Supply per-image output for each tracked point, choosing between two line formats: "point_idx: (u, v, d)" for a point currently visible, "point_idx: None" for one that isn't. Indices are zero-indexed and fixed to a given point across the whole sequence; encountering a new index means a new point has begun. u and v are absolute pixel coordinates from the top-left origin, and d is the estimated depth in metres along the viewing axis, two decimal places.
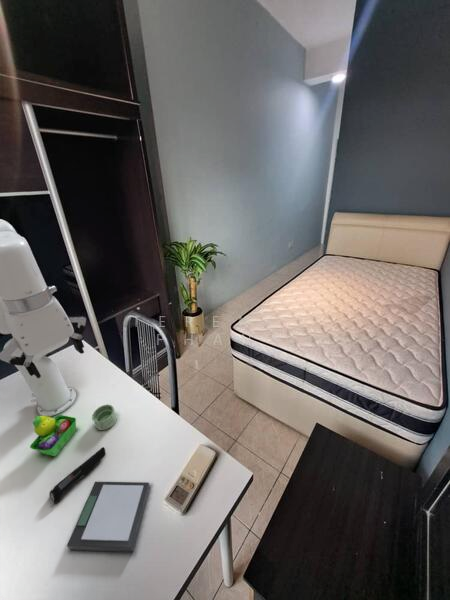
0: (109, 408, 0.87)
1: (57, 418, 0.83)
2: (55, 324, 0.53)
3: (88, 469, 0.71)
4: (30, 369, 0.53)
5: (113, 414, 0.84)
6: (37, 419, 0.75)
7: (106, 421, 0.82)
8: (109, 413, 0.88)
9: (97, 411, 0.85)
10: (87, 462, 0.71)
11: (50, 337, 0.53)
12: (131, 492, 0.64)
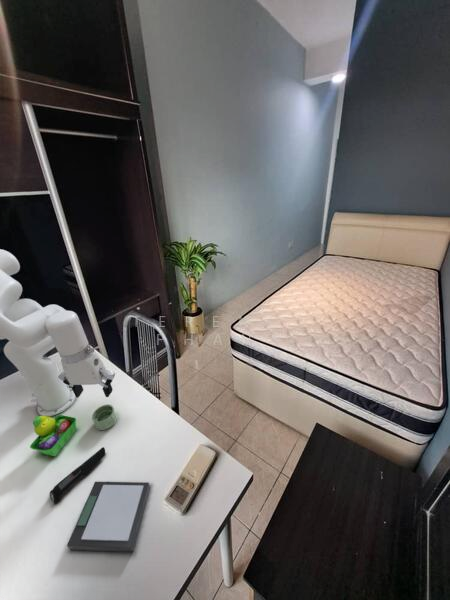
0: (109, 408, 0.87)
1: (57, 418, 0.83)
2: (85, 374, 0.71)
3: (88, 469, 0.71)
4: None
5: (113, 414, 0.84)
6: (37, 419, 0.75)
7: (106, 421, 0.82)
8: (109, 413, 0.88)
9: (97, 411, 0.85)
10: (87, 462, 0.71)
11: (82, 380, 0.72)
12: (131, 492, 0.64)
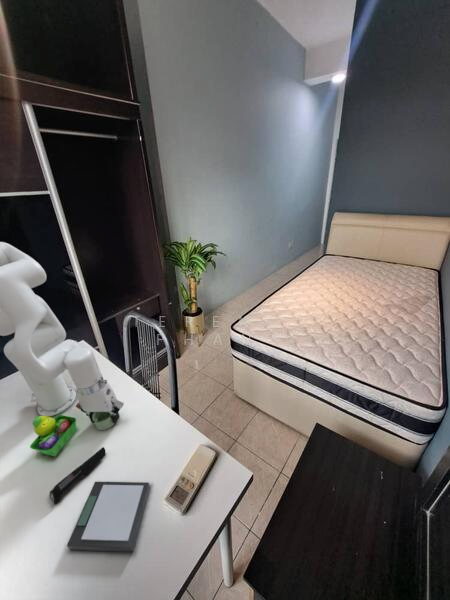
0: None
1: (57, 418, 0.83)
2: (98, 403, 0.78)
3: (88, 469, 0.71)
4: None
5: None
6: (37, 419, 0.75)
7: (106, 421, 0.82)
8: (109, 413, 0.88)
9: None
10: (87, 462, 0.71)
11: (95, 408, 0.79)
12: (131, 492, 0.64)
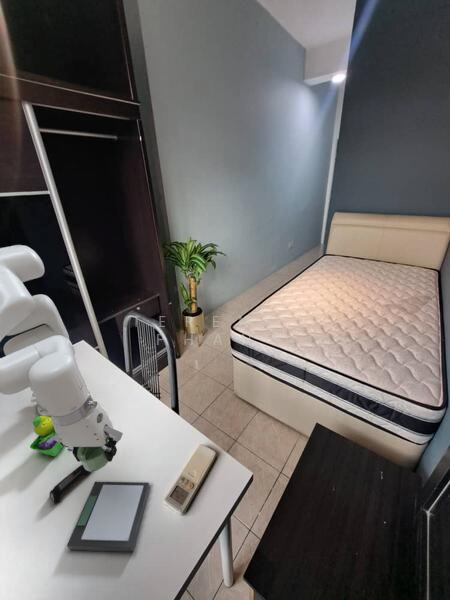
0: None
1: None
2: (84, 435, 0.52)
3: None
4: None
5: None
6: (37, 419, 0.75)
7: (97, 459, 0.56)
8: None
9: None
10: None
11: (80, 442, 0.54)
12: (131, 492, 0.64)
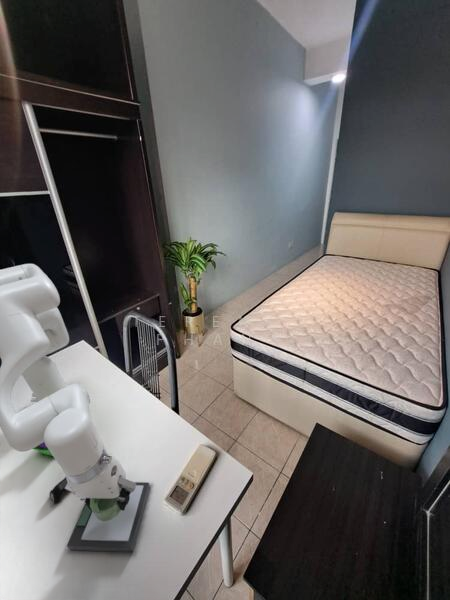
0: None
1: None
2: (98, 490, 0.51)
3: None
4: None
5: None
6: None
7: (111, 510, 0.55)
8: None
9: None
10: None
11: (94, 495, 0.53)
12: None
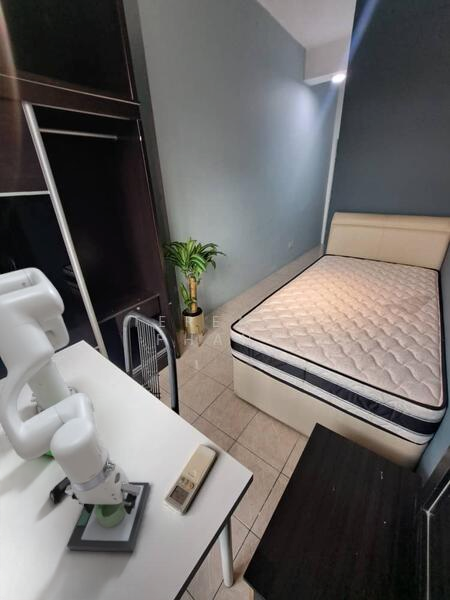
0: None
1: None
2: (102, 496, 0.53)
3: None
4: None
5: None
6: None
7: (114, 516, 0.57)
8: None
9: None
10: None
11: (97, 501, 0.54)
12: None
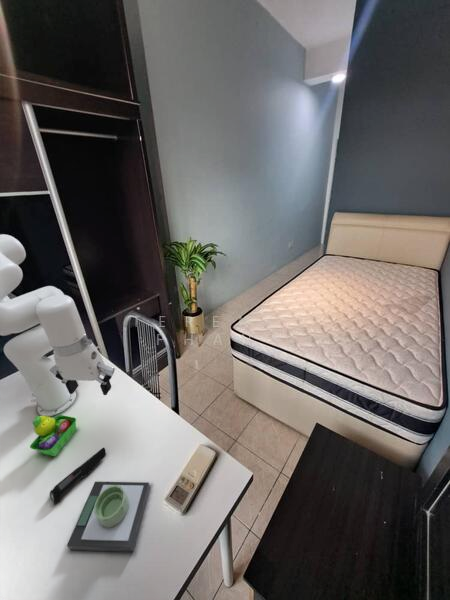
0: (118, 490, 0.62)
1: (57, 418, 0.83)
2: (80, 369, 0.62)
3: (88, 469, 0.71)
4: None
5: (124, 503, 0.59)
6: (37, 419, 0.75)
7: (114, 516, 0.57)
8: (117, 496, 0.63)
9: (101, 496, 0.60)
10: (87, 462, 0.71)
11: (77, 375, 0.63)
12: (131, 492, 0.64)
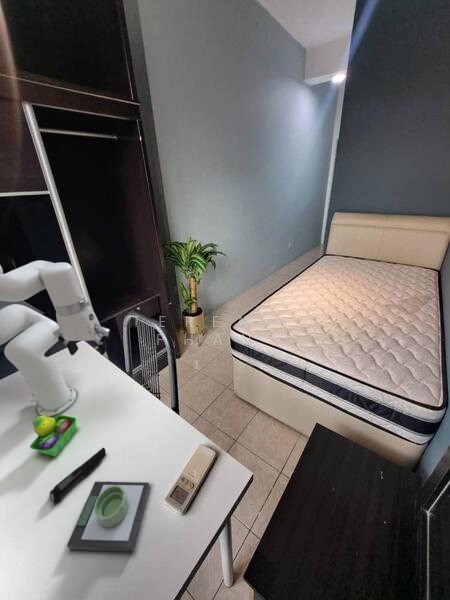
0: (118, 490, 0.62)
1: (57, 418, 0.83)
2: (79, 328, 0.71)
3: (88, 469, 0.71)
4: None
5: (124, 503, 0.59)
6: (37, 419, 0.75)
7: (114, 516, 0.57)
8: (117, 496, 0.63)
9: (101, 496, 0.60)
10: (87, 462, 0.71)
11: (77, 335, 0.73)
12: (131, 492, 0.64)
